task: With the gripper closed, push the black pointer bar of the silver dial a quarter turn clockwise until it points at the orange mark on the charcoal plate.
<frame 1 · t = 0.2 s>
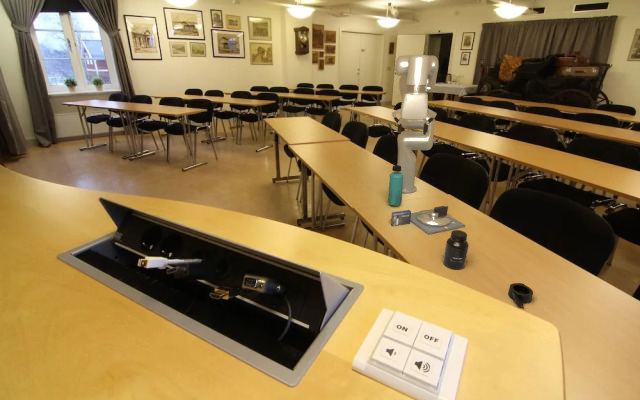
hand: (412, 133, 131), 37 cm above the table, tool pointing down, fingers open, 9 cm apart
dial plate: (432, 221, 138), on the table
supplement bottle: (453, 264, 108), on the table
mini dv tape: (400, 225, 136), on the table
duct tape: (518, 298, 93), on the table
beverage bottle: (394, 206, 154), on the table
dial: (433, 213, 136), point 4 cm above the table, hinge at 90.0°
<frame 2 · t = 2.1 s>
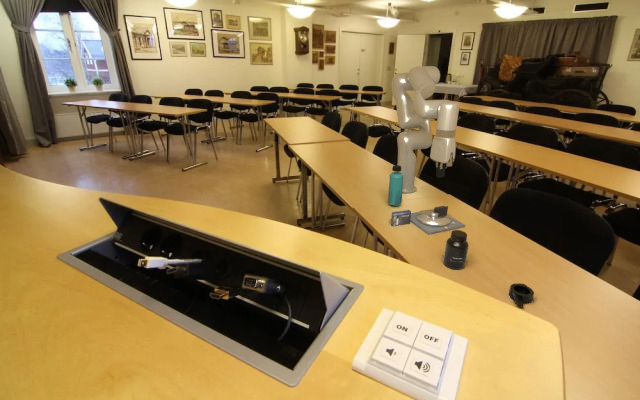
hand: (440, 176, 136), 18 cm above the table, tool pointing down, fingers closed
nothing on the table moved.
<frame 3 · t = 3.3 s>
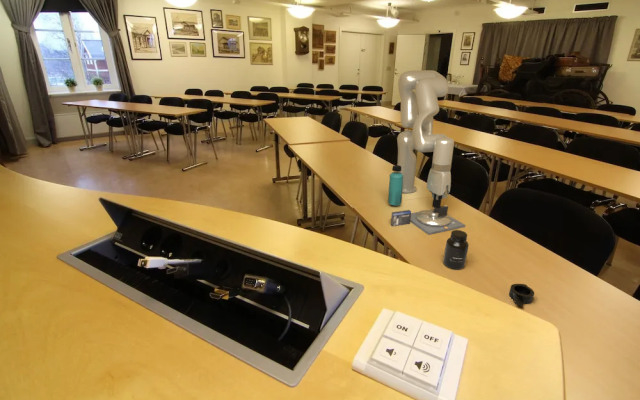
hand: (436, 207, 142), 4 cm above the table, tool pointing down, fingers closed
nothing on the table moved.
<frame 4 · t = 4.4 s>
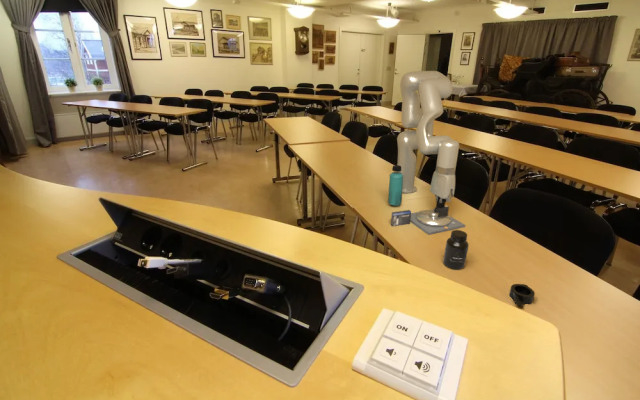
hand: (439, 209, 140), 4 cm above the table, tool pointing down, fingers closed
dial: (433, 213, 136), point 4 cm above the table, hinge at 85.0°, touching gripper
everything else where it was.
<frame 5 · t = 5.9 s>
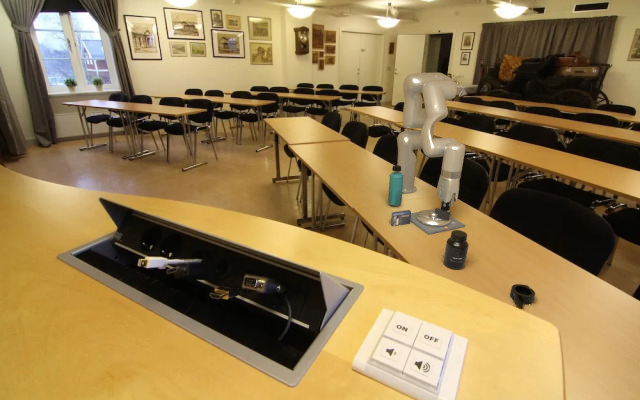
hand: (444, 213, 137), 3 cm above the table, tool pointing down, fingers closed
dial: (433, 213, 136), point 4 cm above the table, hinge at 36.2°, touching gripper
everything else where it was.
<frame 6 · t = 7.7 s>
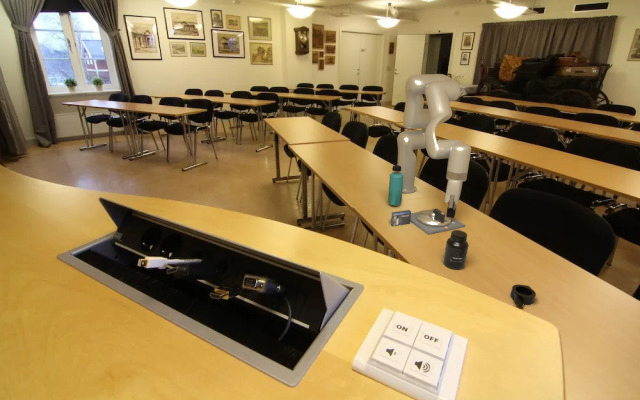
hand: (450, 216, 134), 4 cm above the table, tool pointing down, fingers closed
dial: (433, 213, 136), point 4 cm above the table, hinge at -5.4°
everything else where it was.
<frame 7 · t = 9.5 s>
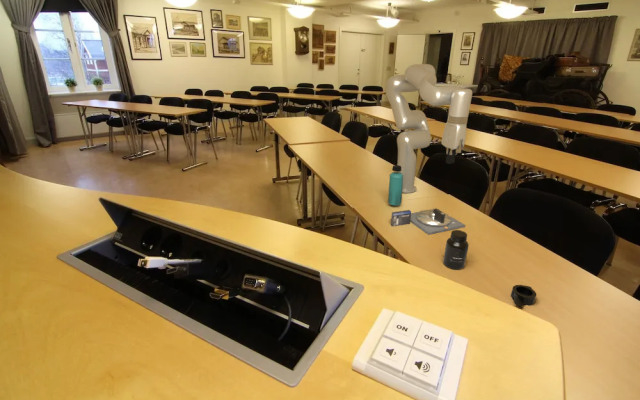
hand: (449, 162, 139), 23 cm above the table, tool pointing down, fingers closed
nothing on the table moved.
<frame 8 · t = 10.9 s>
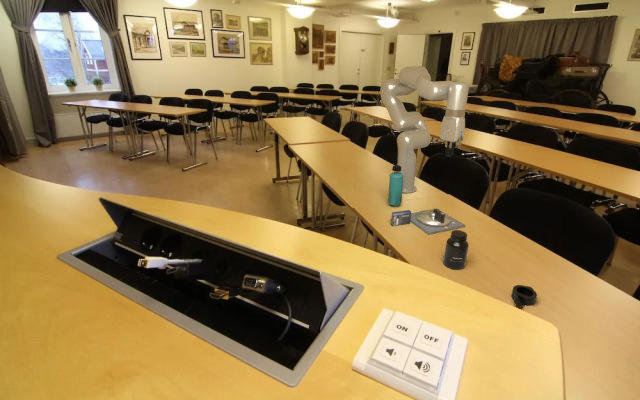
hand: (449, 156, 141), 25 cm above the table, tool pointing down, fingers closed
at the end: dial at -5° (first picture: +90°) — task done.
